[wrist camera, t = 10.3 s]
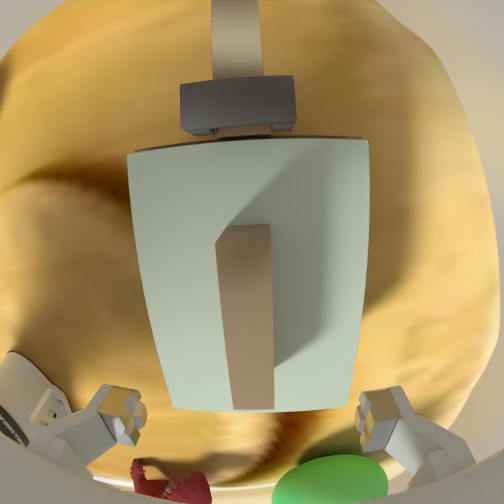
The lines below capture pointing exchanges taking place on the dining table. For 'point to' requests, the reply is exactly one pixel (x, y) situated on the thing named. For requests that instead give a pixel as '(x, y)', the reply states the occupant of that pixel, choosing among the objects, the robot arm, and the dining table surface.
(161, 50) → the dining table surface
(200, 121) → the toolbox
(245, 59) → the wooden key
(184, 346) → the toolbox lid
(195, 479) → the red toy dinosaur
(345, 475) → the toy bird
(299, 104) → the dining table surface
